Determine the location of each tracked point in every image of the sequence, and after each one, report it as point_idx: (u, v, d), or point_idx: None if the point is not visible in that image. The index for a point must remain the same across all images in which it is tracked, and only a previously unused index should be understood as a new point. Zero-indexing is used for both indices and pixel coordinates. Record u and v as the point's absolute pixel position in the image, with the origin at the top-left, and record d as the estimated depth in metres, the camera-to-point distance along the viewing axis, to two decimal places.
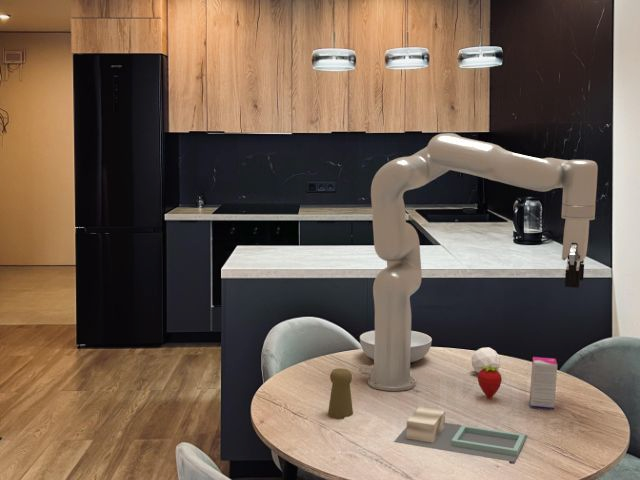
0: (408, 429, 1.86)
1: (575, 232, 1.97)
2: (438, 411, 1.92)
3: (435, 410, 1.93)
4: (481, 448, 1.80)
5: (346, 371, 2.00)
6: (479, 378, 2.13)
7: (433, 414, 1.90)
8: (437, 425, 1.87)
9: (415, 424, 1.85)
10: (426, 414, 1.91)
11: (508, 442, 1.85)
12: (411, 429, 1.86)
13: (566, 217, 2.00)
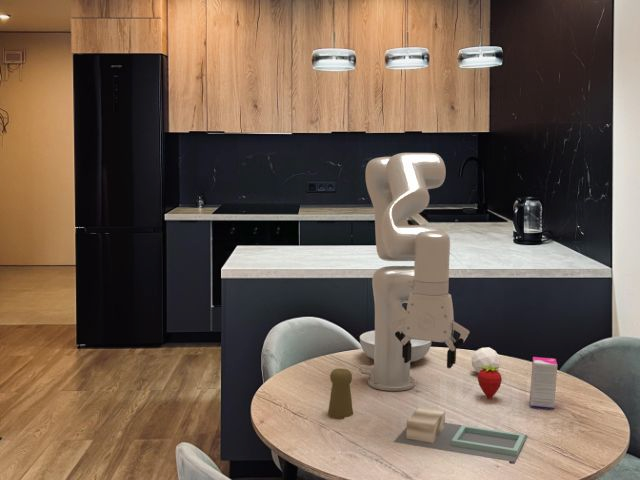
0: (408, 429, 1.86)
1: (452, 308, 1.84)
2: (438, 411, 1.92)
3: (435, 410, 1.93)
4: (481, 448, 1.80)
5: (346, 371, 2.00)
6: (479, 378, 2.13)
7: (433, 414, 1.90)
8: (437, 425, 1.87)
9: (415, 424, 1.85)
10: (426, 414, 1.91)
11: (508, 442, 1.85)
12: (411, 429, 1.86)
13: (441, 295, 1.82)
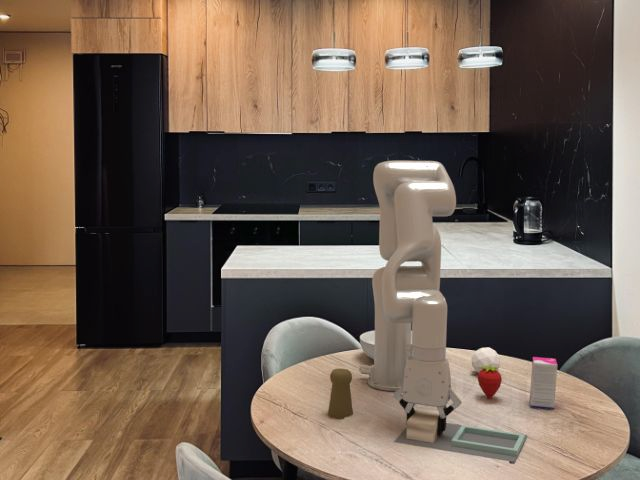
0: (408, 429, 1.86)
1: (449, 373, 1.86)
2: None
3: (435, 410, 1.93)
4: (481, 448, 1.80)
5: (346, 371, 2.00)
6: (479, 378, 2.13)
7: (433, 414, 1.90)
8: (437, 425, 1.87)
9: (415, 424, 1.85)
10: (426, 414, 1.91)
11: (508, 442, 1.85)
12: (411, 429, 1.86)
13: (438, 361, 1.84)
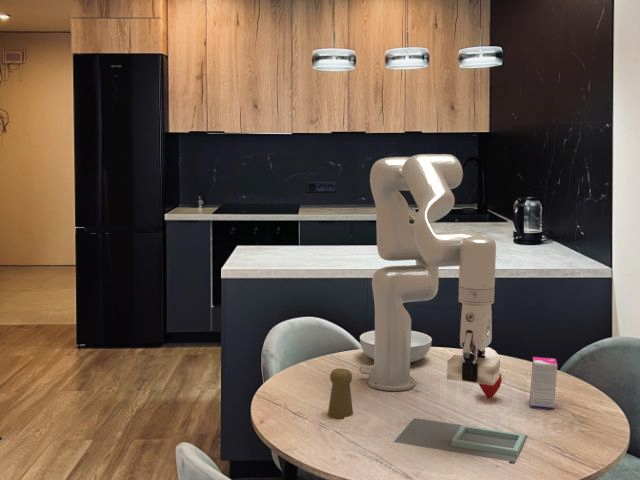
0: (493, 375, 1.79)
1: None
2: (458, 356, 1.87)
3: (456, 357, 1.86)
4: (481, 448, 1.80)
5: (346, 371, 2.00)
6: None
7: None
8: None
9: (495, 366, 1.81)
10: None
11: (508, 442, 1.85)
12: (494, 374, 1.80)
13: None
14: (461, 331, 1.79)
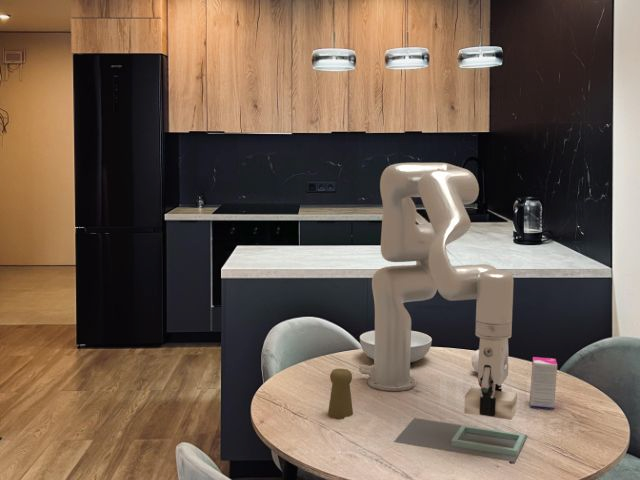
0: (512, 409, 1.79)
1: None
2: (475, 389, 1.86)
3: (473, 390, 1.86)
4: (481, 448, 1.80)
5: (346, 371, 2.00)
6: None
7: None
8: None
9: (513, 401, 1.80)
10: None
11: (508, 442, 1.85)
12: (512, 408, 1.80)
13: None
14: (479, 366, 1.78)
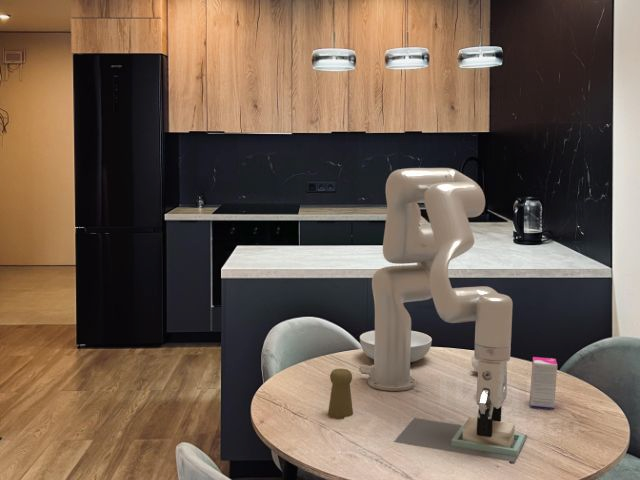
0: (509, 441, 1.80)
1: None
2: (473, 419, 1.87)
3: (471, 420, 1.87)
4: (481, 448, 1.80)
5: (346, 371, 2.00)
6: None
7: None
8: None
9: (511, 432, 1.82)
10: None
11: None
12: (510, 439, 1.81)
13: None
14: (478, 389, 1.79)
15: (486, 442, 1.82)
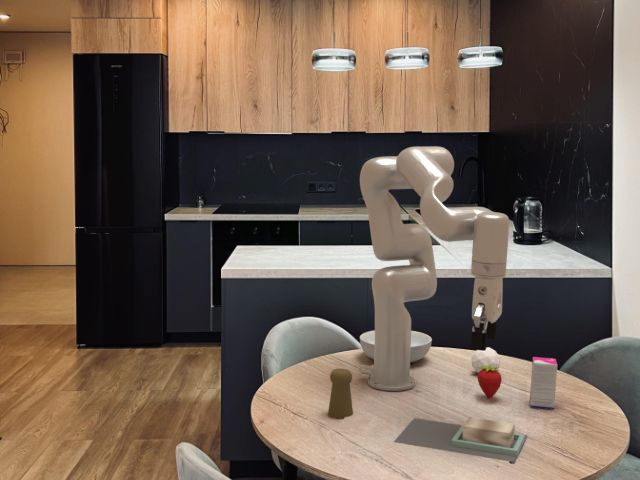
0: (509, 441, 1.80)
1: None
2: (473, 419, 1.87)
3: (471, 420, 1.87)
4: (481, 448, 1.80)
5: (346, 371, 2.00)
6: (479, 378, 2.13)
7: (484, 422, 1.86)
8: None
9: (511, 432, 1.82)
10: (484, 424, 1.85)
11: None
12: (510, 439, 1.81)
13: None
14: (473, 303, 1.84)
15: (486, 442, 1.82)
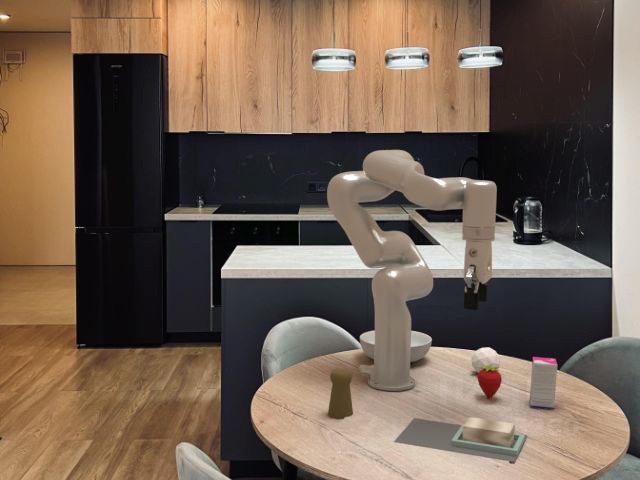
0: (509, 441, 1.80)
1: None
2: (473, 419, 1.87)
3: (471, 420, 1.87)
4: (481, 448, 1.80)
5: (346, 371, 2.00)
6: (479, 378, 2.13)
7: (484, 422, 1.86)
8: None
9: (511, 432, 1.82)
10: (484, 424, 1.85)
11: None
12: (510, 439, 1.81)
13: None
14: (465, 266, 1.96)
15: (486, 442, 1.82)
